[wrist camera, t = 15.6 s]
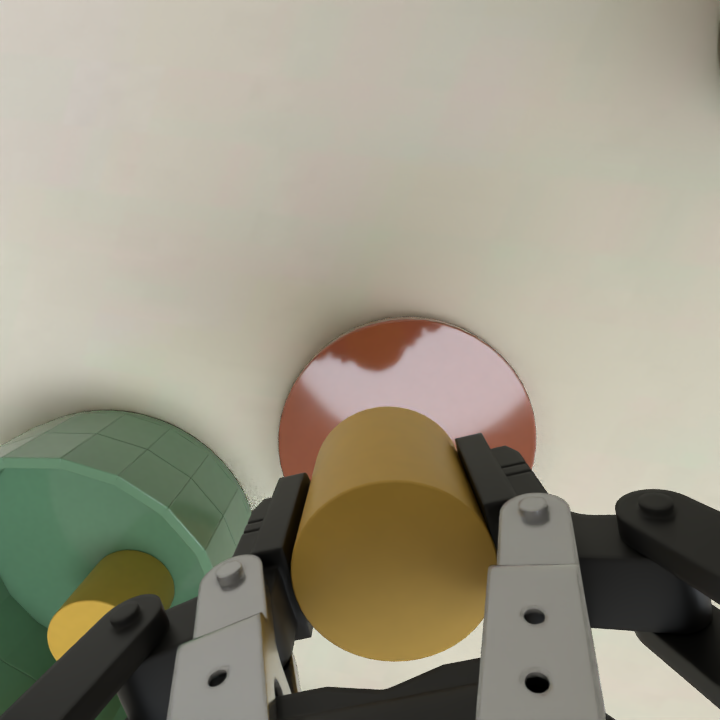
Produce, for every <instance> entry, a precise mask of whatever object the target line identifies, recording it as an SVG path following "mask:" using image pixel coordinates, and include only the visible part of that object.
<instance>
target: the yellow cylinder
mask: <svg viewBox="0 0 720 720" xmlns="http://www.w3.org/2000/svg"><path fill="white" fill-rule="evenodd" d="M489 565H497V551H496V548H495V545H494V542H493V539H492V537H491V535H490V533H489V530H488V528H487V525H486V523H485V520H484V518H483V515H482V513H481V510H480V508H479V505H478V503H477V500H476V498H475V495H474V493H473V490H472V488H471V485H470V483H469V480H468V478H467V475H466V473H465V470H464V468H463V465H462V463H461V460H460V458H459V456H458V452H457V449H456V447H455V445H454V443H453V441H452V440H451V439H450V437H449V436H448V434H447V433H446V432H445V431H444V430H443V429H442V428H441V427H440V426H439V425H438V424H437V423H436V422H434V421H433V420H431V419H430V418H428V417H427V416H425V415H423V414H421V413H418V412H416V411H413V410H410V409H406V408H400V407H389V406H386V407H376V408H371V409H366V410H363V411H360V412H358V413H356V414H354V415H352V416H350V417H348V418H346V419H345V420H343V421H342V422H341V423H339V424H338V425H337V426H336V427H335V428H334V429H333V430H332V431H331V432H330V433H329V434H328V436H327V437H326V439H325V440H324V442H323V444H322V446H321V448H320V450H319V453H318V456H317V459H316V463H315V467H314V471H313V475H312V478H311V482H310V486H309V490H308V494H307V498H306V502H305V506H304V509H303V513H302V517H301V521H300V525H299V529H298V533H297V537H296V540H295V544H294V548H293V553H292V559H291V581H292V587H293V591H294V594H295V597H296V600H297V602H298V604H299V606H300V609H301V610H302V612H303V614H304V615H305V617H306V618H307V620H308V621H309V622H310V623H311V625H312V626H313V627H314V628H315V629H316V630H317V631H318V632H319V633H320V634H321V635H322V636H323V637H325V638H326V639H327V640H329V641H330V642H332V643H333V644H334V645H336V646H338V647H340V648H342V649H343V650H345V651H348V652H350V653H353V654H355V655H358V656H362V657H365V658H369V659H374V660H380V661H410V660H416V659H421V658H425V657H429V656H432V655H435V654H437V653H440V652H442V651H445V650H446V649H448V648H450V647H452V646H454V645H456V644H457V643H458V642H460V641H461V640H463V639H464V638H465V637H467V636H468V635H469V634H470V633H471V632H472V631H473V630H474V629H475V628H476V627H477V626H478V625H479V623H480V622H481V621H482V620H483V618H484V610H485V598H486V586H487V574H488V567H489Z"/></svg>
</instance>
